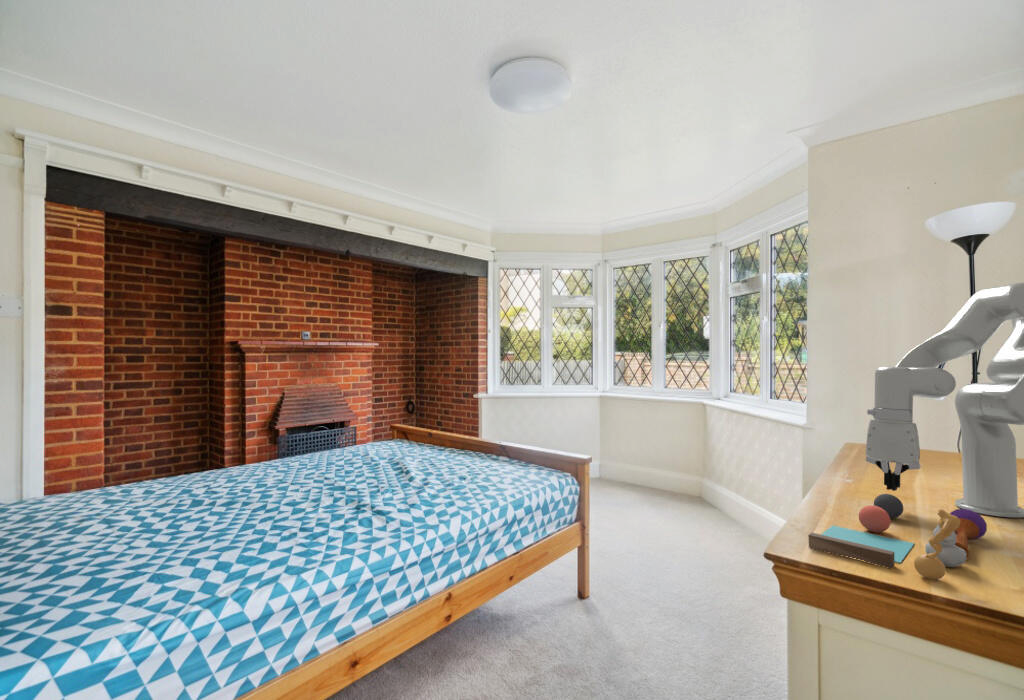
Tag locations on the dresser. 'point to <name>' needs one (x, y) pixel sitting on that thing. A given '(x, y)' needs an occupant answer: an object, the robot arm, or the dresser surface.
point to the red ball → (874, 518)
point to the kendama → (968, 527)
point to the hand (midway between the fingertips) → (892, 489)
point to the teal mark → (871, 541)
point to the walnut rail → (852, 550)
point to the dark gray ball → (889, 505)
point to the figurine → (936, 548)
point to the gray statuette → (948, 550)
